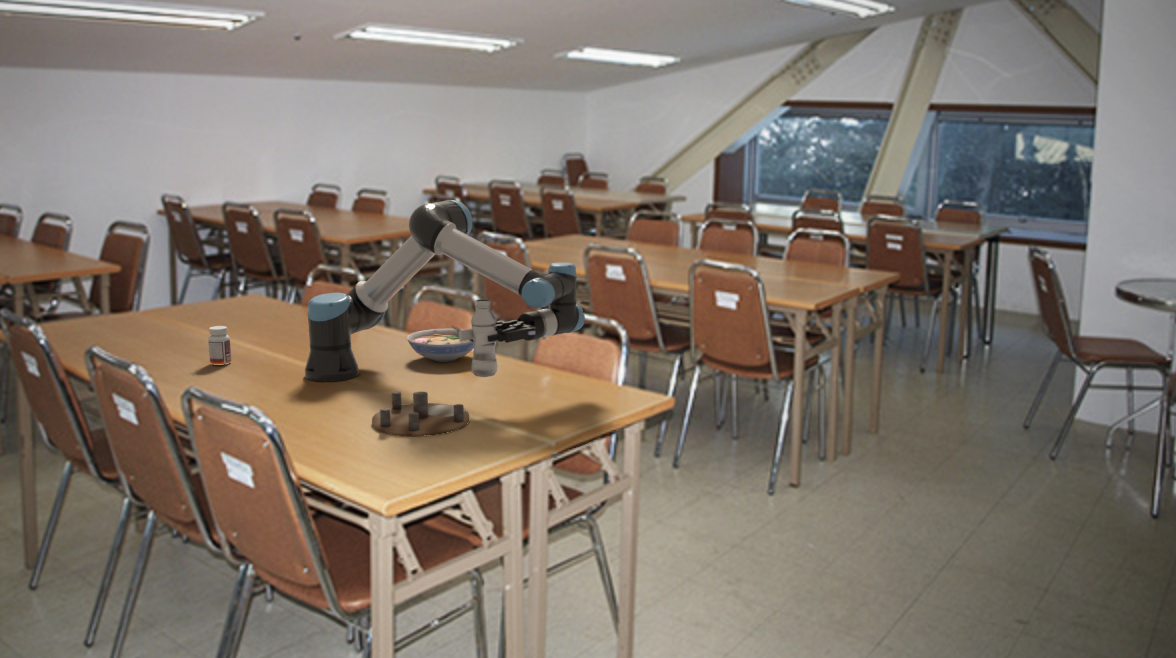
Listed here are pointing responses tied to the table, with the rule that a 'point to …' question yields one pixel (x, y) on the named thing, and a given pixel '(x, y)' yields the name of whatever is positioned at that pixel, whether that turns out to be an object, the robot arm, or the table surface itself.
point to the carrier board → (423, 423)
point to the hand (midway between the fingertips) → (468, 338)
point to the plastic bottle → (483, 354)
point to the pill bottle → (219, 345)
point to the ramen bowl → (440, 344)
